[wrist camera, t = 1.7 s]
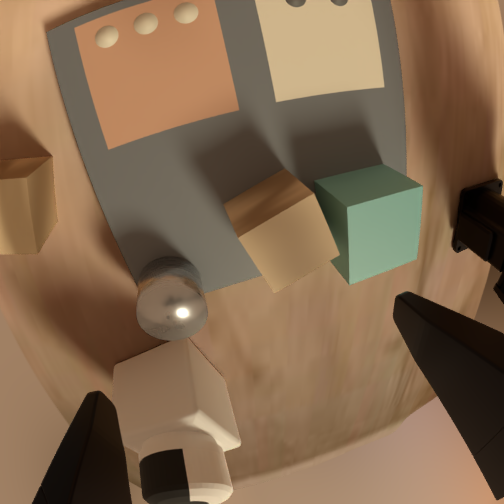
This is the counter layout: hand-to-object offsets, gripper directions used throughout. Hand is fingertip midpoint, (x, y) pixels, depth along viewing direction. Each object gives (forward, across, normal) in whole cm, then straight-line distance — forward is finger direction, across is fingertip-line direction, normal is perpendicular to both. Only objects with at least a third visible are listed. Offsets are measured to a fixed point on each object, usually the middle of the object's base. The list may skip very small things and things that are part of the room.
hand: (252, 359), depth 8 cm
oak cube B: (+10, +8, -3) cm, 13 cm away
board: (+12, -4, -3) cm, 13 cm away
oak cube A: (+11, -4, +2) cm, 12 cm away
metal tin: (+11, +3, +4) cm, 12 cm away
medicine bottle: (+12, +7, +14) cm, 20 cm away
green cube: (+11, -9, +3) cm, 15 cm away
